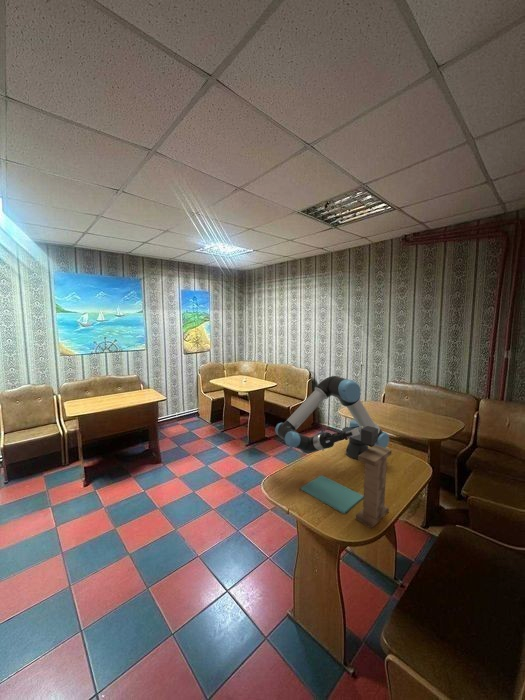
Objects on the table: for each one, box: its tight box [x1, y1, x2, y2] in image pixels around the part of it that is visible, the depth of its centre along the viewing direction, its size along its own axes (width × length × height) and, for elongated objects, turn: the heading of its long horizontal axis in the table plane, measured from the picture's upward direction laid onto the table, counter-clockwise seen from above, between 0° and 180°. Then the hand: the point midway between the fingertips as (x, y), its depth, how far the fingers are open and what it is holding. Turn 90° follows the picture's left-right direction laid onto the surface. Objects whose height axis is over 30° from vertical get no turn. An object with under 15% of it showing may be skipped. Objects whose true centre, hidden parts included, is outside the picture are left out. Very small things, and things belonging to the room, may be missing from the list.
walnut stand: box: [355, 445, 393, 529], centre depth 129 cm, size 16×8×30 cm, turn 132°
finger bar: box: [341, 426, 378, 445], centre depth 132 cm, size 6×15×6 cm, turn 42°
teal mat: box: [300, 474, 364, 515], centre depth 147 cm, size 18×26×1 cm
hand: (360, 430), depth 131 cm, fingers closed on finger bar, 4 cm apart
